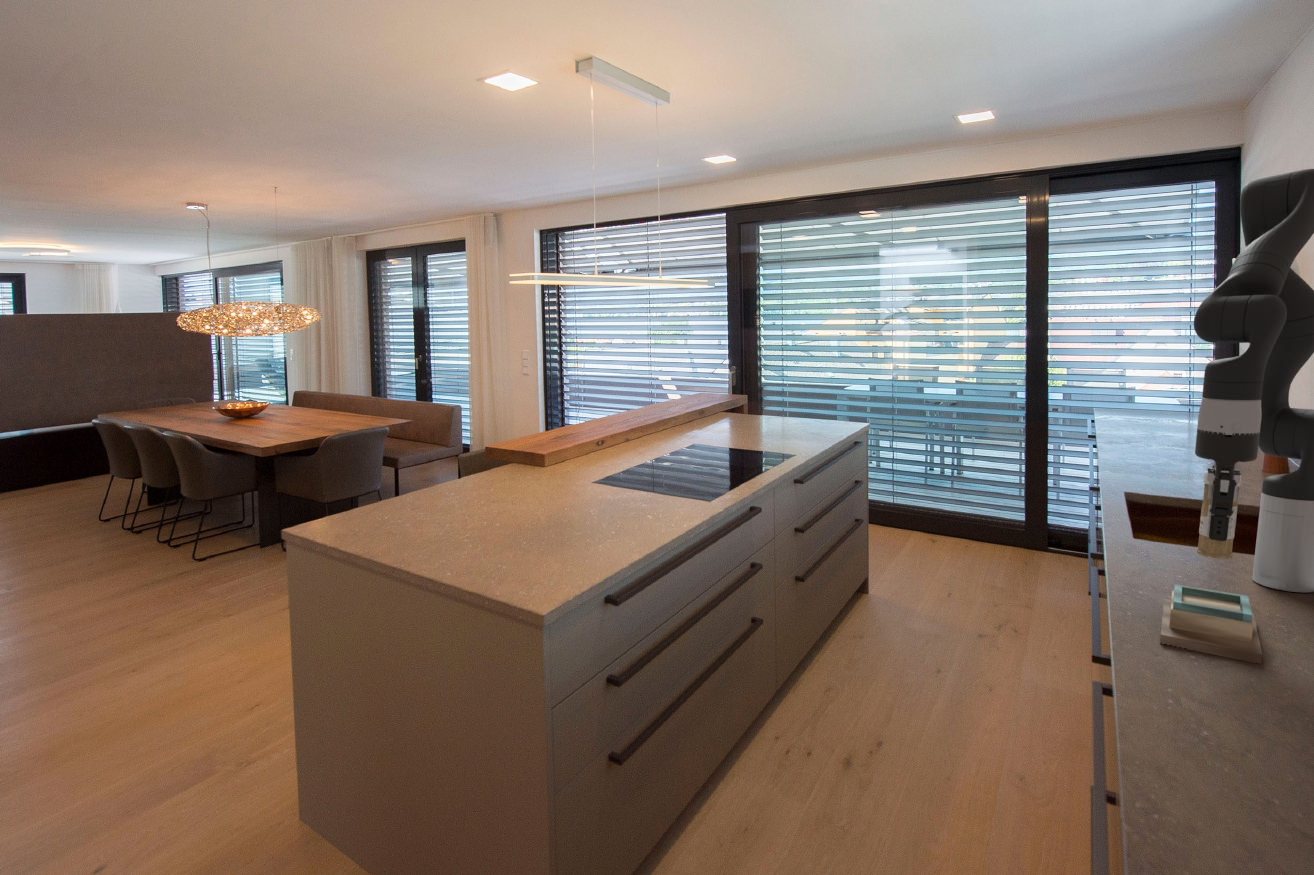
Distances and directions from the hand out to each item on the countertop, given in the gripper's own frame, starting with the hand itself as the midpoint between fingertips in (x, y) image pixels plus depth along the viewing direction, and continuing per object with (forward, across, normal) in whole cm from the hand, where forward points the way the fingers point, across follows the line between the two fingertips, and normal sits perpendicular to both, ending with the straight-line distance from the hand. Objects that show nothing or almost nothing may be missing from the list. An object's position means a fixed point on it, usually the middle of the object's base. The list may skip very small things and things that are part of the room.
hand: (1217, 535), depth 111 cm
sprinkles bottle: (+3, 0, 0) cm, 3 cm away
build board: (+16, 0, 0) cm, 16 cm away
